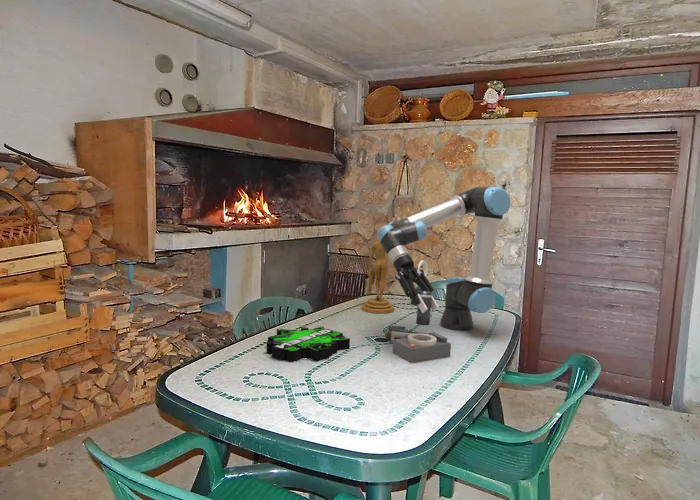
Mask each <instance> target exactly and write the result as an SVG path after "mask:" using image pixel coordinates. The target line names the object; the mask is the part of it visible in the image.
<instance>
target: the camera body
mask: <svg viewBox="0 0 700 500" xmlns="http://www.w3.org/2000/svg"><path fill="white" fill-rule="evenodd" d="M419 333H420V332H419ZM419 333H416V334H410V335H408V338H401V339H394V340H393V342H392V353H393V354H394V355H396V356H399V358H401V359H403V360H405V361H407V362H409V363H410V364H413V363H420V362H425V361H430V360H431V361H432V360H436V359H441V358H447V357H448V358H449V357H451V350H452V343H451V342H448V337H446V336H444V335H442V334H440V333H437V332H434V331H433V332H432V331H431V332H428V333H429V335H428V334H419Z"/></svg>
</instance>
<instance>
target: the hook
mask: <svg viewBox="0 0 700 500" xmlns="http://www.w3.org/2000/svg"><path fill="white" fill-rule="evenodd" d="M422 265H423V272H424V275H425V276H426V278H427V277H428V272H429V271H428V270H429V267H428V262H427V261H426V260H424V259H421V260H420V261H419V262H418V266H417V270H419V271H420V270H421V269H420V268H421V266H422ZM415 289H416V292H417V294H418V291H422V290H421V289H420V288H419V287H417V288H415ZM417 294H416V295H417ZM410 306H411V307H414V306H415V307H414V308H417V304H416V303H415V301H414V299H410Z"/></svg>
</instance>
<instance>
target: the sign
mask: <svg viewBox="0 0 700 500" xmlns="http://www.w3.org/2000/svg"><path fill="white" fill-rule="evenodd" d="M350 343H351V338H350V337H345V335H344V333H343V332H340V331H334V330H332V329H330V328H324V326H318V327H314V328H311V329H309V327H304V326H302V327H300V330H294V329H293V330H292V329H285V328H276V334H275V335H271V336H268V337H267V342H266V351H265V352H266V355H271V358H272V359H273V360H279V361H283V362H284V361H287V362H289V363H295V362H294V361H296V362H298V361H301V360H302V359H301V358H307V359H309V358H310V360H311V359H312V360H311V361H313V362H316V361H317V363H319V362H320V361H323V360H324V359H325V360H327V359H328V360H329V359H330V357H331V356H333V355H335V354H337V353H338V351H344V350H346V351H347V350H350V349H351V348H350V346H351V345H350ZM300 359H301V360H300ZM297 360H298V361H297ZM318 361H319V362H318Z"/></svg>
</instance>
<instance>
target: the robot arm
mask: <svg viewBox="0 0 700 500" xmlns="http://www.w3.org/2000/svg"><path fill="white" fill-rule="evenodd" d="M510 207H511V198H510V194H509V193H508V191H507V190H505V188H503V187H498V186H476V187H472V188H470V189H467V190H465V191H462V192H461V193H458V194H456V195H454V196H452V198H451V199H449V200H447V201H444V202H442V203H439V204H437V205H435V206H433V207H430V208H427V209H425V210H422V211H420V212H417V213H414V214H413V215H410V216H408V217H404V218H402V219H400V220H392V221H391V222H389V223H388V224H385V225H383V226H382V227H380V228H379V229H378V230H377V232H376V237H377V240H379V241H380V244H381V245H382V246H383V248H384V250H385V254H386V255H387V257H388V258H389V260H390V261H391V264H392V265H393V268H394V269H395V271H396V274H395V276H394V277H395V279H396V280H397V281H398V282H399V284H400V287H401V288H402V290H403V292H404V294H405V296H406V297H407V298H409V299H410V300H411V299H414V301H415V303H416V304H417V305H418V307H419V309H420V310H421V312H422V313H424V312H425V311H426V310H427V309H428V308H427V307H426V305H425V303H424V302H423V300H422V298H421V297H420V295H419V294H417V292H416V289H417V288H420V289H421V290H422V291H430V292H432V293H433V291H434V290H435V289H434V288H433V286H432V284H431V283H430V281H429V279H428V278H427V277H426V276H425V275H424V269H419V270H418V268H416V267H415V262H414V260H413V258H412V257H411V255H410V252H408V250H407V248H406V245H409V244H412V243H416V242H418V241H421V240H423V239H426V237H427V234H428V231H427V228H430V227H432V226H435V225H437V224H440V223H442V222H445V221H447V220H450V219H452V218H454V217H457V216H462V217H463V216H465V215H468V214H474V218H475V220H476V222H477V223H476V227H475V235H474V241H473V247H472V255H471V261H470V268H469V275H468V276H452V277H451V276H450V277H448V278H447V279H446V283H445V286H446V287H445V299H444V300H445V304H444V310H443V312H442V315H441V317H440V321H439V325H440V326H441V327H442V328H446V329H450V330H454V331H455V330H456V331H470V330H472V329H474V320H473V316H472V312H473V313H477V314H483V313H485V314H486V313H487V312H488V311H490V310H491V309H492V308H493V307H494V305H495V303H496V293H495V291H494V290H493V281H492V280H491V279H490V278H491V270H492V263H493V258H494V251H495V246H496V239H497V232H498V225H499V223H500V222H502V221H503V216H504V215H505V214H506V213H507V212H508V211H509V210H510V209H511V208H510ZM415 284H416V285H417V288H416V286H415ZM416 294H417V295H416ZM439 307H440V306H439V304H438V303H437V302H436V298H435V297H434V296H433V294H432V297H431V310H432V311H433V312H434V311H436V310H437V309H438V308H439Z"/></svg>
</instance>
